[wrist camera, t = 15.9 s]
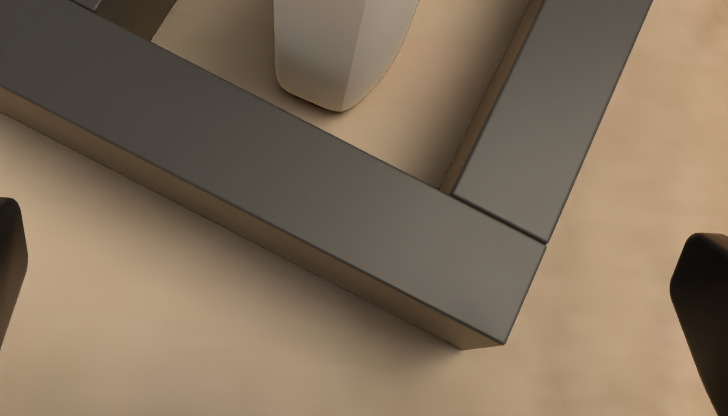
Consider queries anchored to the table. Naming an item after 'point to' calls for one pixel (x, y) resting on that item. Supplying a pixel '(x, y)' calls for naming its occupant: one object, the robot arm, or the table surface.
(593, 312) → the table surface
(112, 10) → the holder
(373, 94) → the table surface
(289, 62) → the eye dropper bottle
